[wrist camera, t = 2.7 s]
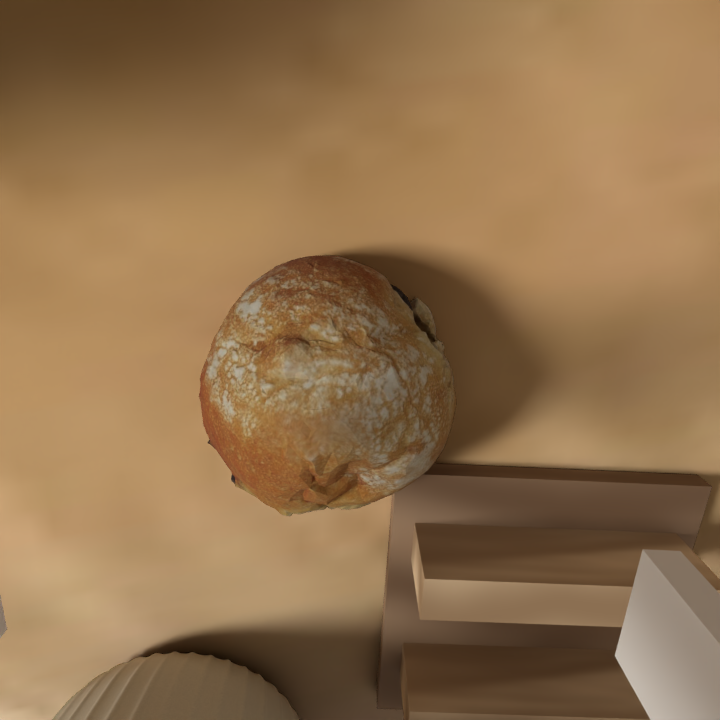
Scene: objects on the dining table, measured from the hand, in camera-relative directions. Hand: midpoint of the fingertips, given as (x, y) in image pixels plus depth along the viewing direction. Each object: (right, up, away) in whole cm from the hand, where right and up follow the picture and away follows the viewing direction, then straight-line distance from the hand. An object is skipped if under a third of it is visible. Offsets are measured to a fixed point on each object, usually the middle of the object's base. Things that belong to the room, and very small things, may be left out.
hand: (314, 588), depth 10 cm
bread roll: (0, +4, +12) cm, 12 cm away
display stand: (+9, -7, +15) cm, 19 cm away
